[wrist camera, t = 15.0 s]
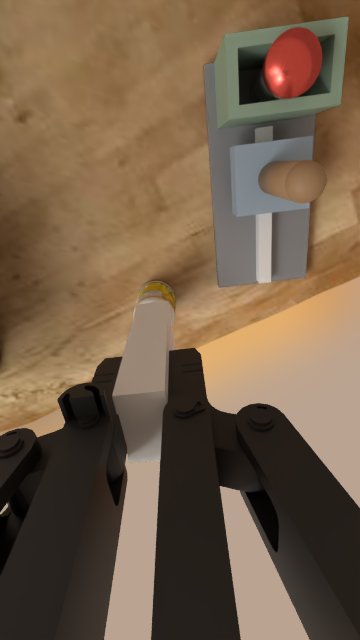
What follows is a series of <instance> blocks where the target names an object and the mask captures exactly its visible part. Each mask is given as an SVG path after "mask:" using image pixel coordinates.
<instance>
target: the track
mask: <svg viewBox="0 0 360 640" xmlns="http://www.w3.org/2000/svg"><path fill="white" fill-rule="evenodd" d="M348 20H349V16H347V17H340V18H334V19H327V20H320V21H313V22H306V23H299V24H292V25H285V26H278V27H271V28H264V29H257V30H250V31H243V32H236V33H229V34H225V35H224V38H223V41H222V43H221V46H220V48H219V51H218V54H217V56H216V59H215V61H214V63H209V64H204V67H203V71H204V86H205V101H206V116H207V131H208V146H209V161H210V176H211V191H212V206H213V221H214V235H215V250H216V265H217V280H218V286H219V288H220V287H229V286H237V285H246V284H255V283H259V284H260V283H268V282H272V281H281V280H290V279H298V278H306V266H307V250H308V234H309V218H310V202H309V208H306V209H298V210H289V211H281V212H273V213H265V214H257V215H249V216H241V217H236V216H235V215H234V214H233V213H232V189H231V164H230V147H233V146H238V145H245V144H253V143H261V142H268V141H276V140H284V139H291V138H299V137H307V136H314V137H313V153H312V161H313V154H314V138H315V122H316V114H317V113H320V112H323V111H325V110H328V109H331V108H334V107H336V106H339V105H341V97H342V86H343V75H344V64H345V53H346V42H347V31H348ZM295 27H303V28H306V29H308V30H310V31H311V32H313V33H314V34H315V35H316V37H317V38H318V40H319V42H320V45H321V49H322V65H321V69H320V72H319V75H318V77H317V79H316V81H315V82H314V83H313V85H312V86H311V87H310V88H309V89H308V90H307V91H306V92H304V93H303V94H301V95H299V96H297V97H295V98H293V99H289V100H282V99H276V100H274V101H267V102H259V103H255V102H254V101H253V100H252V98H251V94H250V87H251V83H252V81H253V79H254V77H255V76H256V75H257V74H258V73H259V72H260V71H261V70H262V68H263V62H264V58H265V56H266V53H267V51H268V49H269V48H270V46H271V45H272V44H273V43H274V41H275V40H276V39H277V38H278V37H279V36H280V35H281V34H282V33H283V32H285V31H286V30H288V29H291V28H295Z"/></svg>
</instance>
